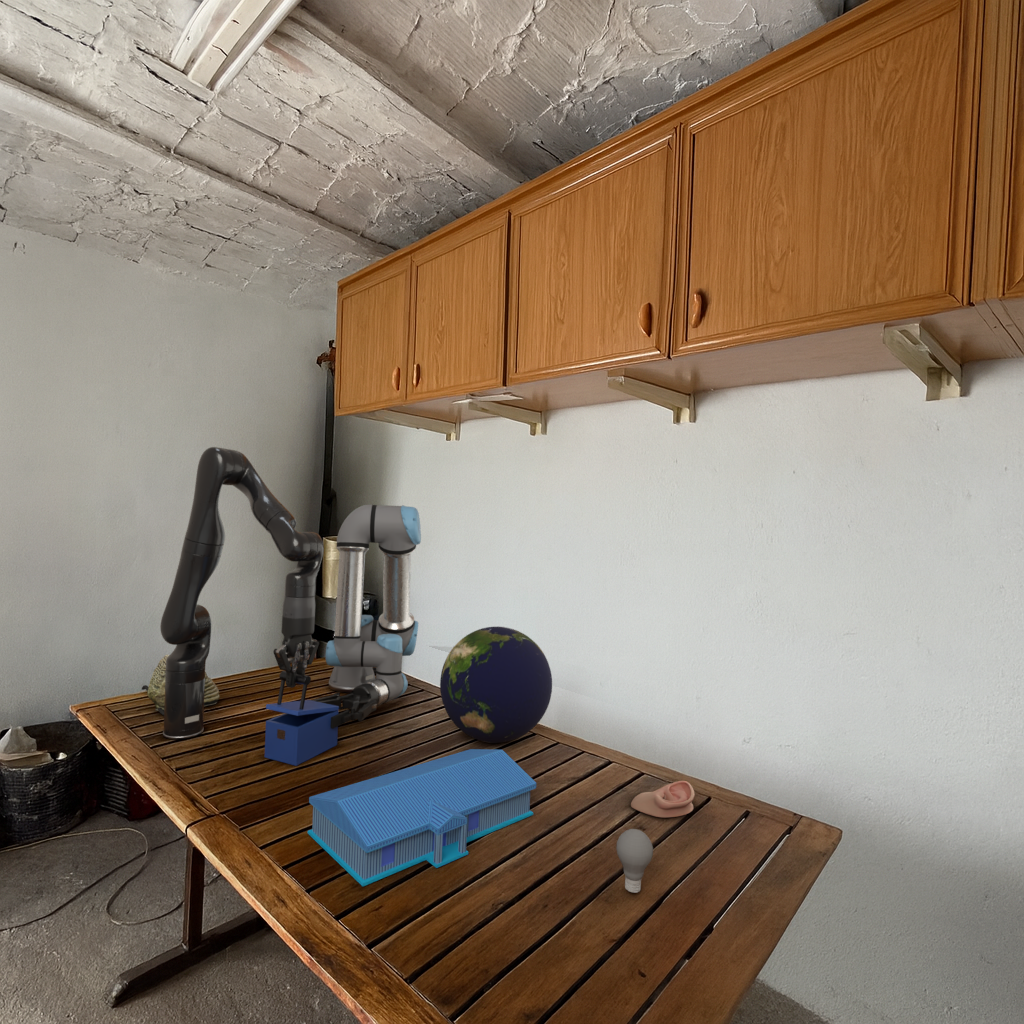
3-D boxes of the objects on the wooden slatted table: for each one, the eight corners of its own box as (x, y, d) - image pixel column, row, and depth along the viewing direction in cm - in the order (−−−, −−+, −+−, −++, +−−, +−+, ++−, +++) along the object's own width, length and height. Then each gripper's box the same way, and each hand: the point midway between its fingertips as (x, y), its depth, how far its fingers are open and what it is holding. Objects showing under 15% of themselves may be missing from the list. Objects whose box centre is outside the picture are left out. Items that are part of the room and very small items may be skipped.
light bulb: (610, 879, 108) (613, 822, 108) (644, 879, 109) (647, 822, 109) (619, 902, 102) (622, 840, 102) (655, 901, 103) (658, 840, 103)
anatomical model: (631, 794, 132) (632, 772, 143) (630, 813, 132) (631, 789, 143) (697, 803, 129) (693, 779, 140) (696, 822, 129) (692, 797, 141)
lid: (297, 715, 148) (304, 676, 149) (265, 708, 152) (272, 670, 153) (338, 710, 161) (344, 674, 163) (308, 703, 165) (313, 669, 167)
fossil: (144, 707, 182) (145, 655, 182) (212, 696, 194) (213, 647, 194) (151, 716, 175) (153, 662, 175) (221, 703, 188) (223, 653, 188)
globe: (416, 747, 162) (421, 630, 161) (468, 713, 189) (472, 613, 189) (525, 771, 150) (531, 645, 150) (563, 731, 178) (568, 624, 177)
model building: (372, 896, 101) (375, 834, 101) (306, 832, 119) (308, 779, 119) (545, 820, 127) (547, 771, 127) (469, 777, 146) (471, 734, 145)
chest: (296, 765, 148) (297, 728, 148) (264, 757, 152) (265, 720, 152) (337, 744, 162) (338, 710, 161) (307, 737, 166) (308, 703, 165)
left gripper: (290, 620, 145) (286, 695, 146) (330, 612, 158) (326, 681, 158) (265, 616, 148) (261, 689, 149) (306, 608, 161) (303, 676, 161)
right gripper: (401, 715, 177) (350, 742, 156) (336, 702, 186) (280, 725, 165) (402, 689, 177) (351, 712, 156) (337, 677, 186) (281, 697, 165)
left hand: (295, 685), depth 153 cm, fingers closed on lid, 2 cm apart
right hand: (315, 719), depth 161 cm, fingers closed on chest, 10 cm apart
